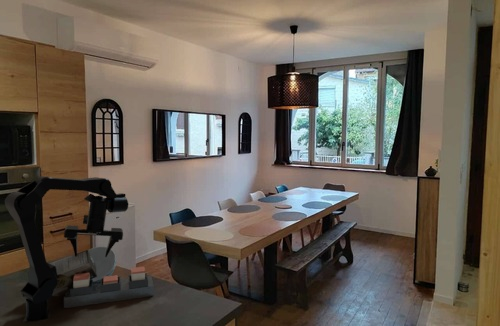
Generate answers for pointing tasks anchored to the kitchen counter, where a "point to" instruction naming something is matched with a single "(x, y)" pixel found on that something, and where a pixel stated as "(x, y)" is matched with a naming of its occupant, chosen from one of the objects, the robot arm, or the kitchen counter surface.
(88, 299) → the gray slotted rack
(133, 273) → the button
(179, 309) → the kitchen counter surface
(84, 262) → the coffee box
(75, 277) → the button
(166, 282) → the kitchen counter surface
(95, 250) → the chinaware
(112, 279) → the button
